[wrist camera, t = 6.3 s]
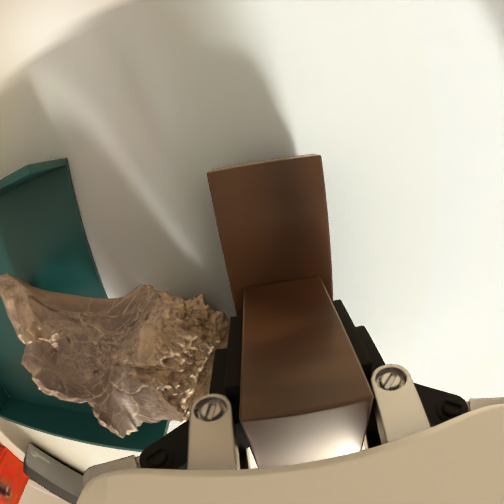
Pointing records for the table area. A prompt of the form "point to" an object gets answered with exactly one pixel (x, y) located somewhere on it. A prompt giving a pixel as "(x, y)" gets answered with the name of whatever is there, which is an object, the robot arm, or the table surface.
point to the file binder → (11, 477)
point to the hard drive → (52, 475)
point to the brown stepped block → (288, 313)
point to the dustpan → (56, 280)
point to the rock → (118, 350)
